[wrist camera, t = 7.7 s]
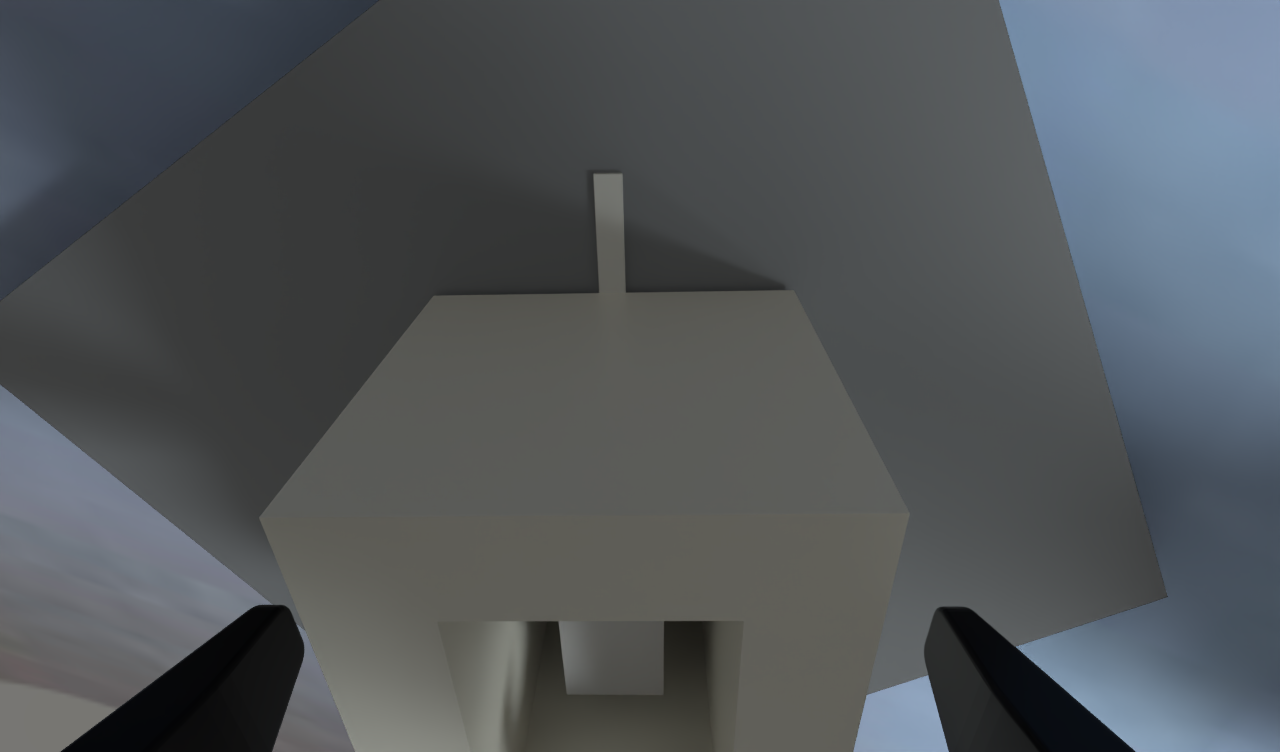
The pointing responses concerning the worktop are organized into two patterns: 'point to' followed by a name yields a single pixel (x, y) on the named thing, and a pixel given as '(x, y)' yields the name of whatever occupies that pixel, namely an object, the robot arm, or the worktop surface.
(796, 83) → the grey peg base plate
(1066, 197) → the worktop surface
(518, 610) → the square tube sleeve
